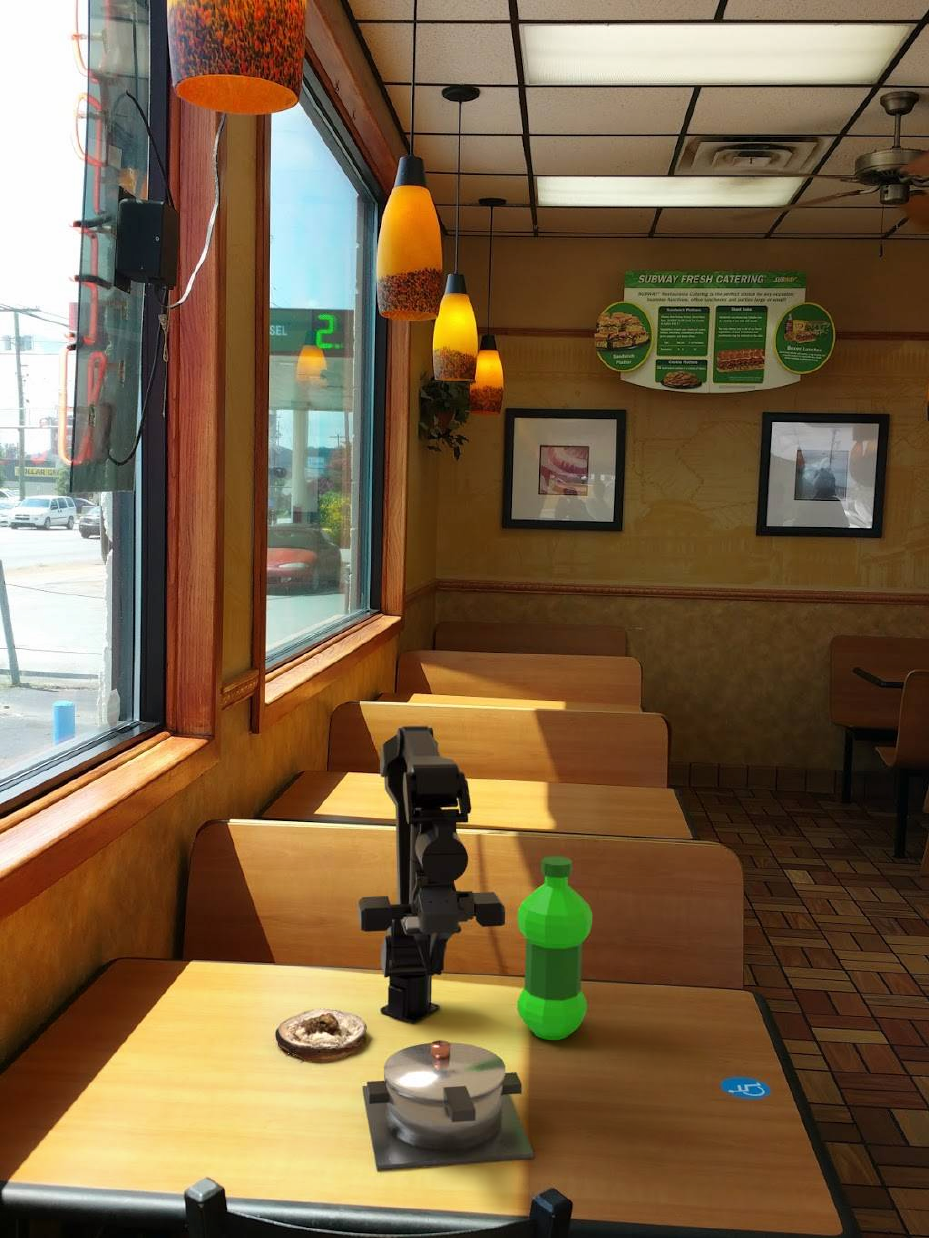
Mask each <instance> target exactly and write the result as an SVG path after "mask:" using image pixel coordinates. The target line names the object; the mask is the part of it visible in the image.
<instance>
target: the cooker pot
mask: <svg viewBox="0 0 929 1238" xmlns="http://www.w3.org/2000/svg"><path fill="white" fill-rule="evenodd" d="M522 1085H523V1084H522V1081H521V1079H520V1077H519V1075H518V1073H517V1071H516V1072H515V1071H513V1072H505V1081H504V1083H503V1085H502V1086H501V1087H500V1088H499V1089H498V1090H496V1091H495V1092H493V1093H491V1094H489V1095H487V1096H484V1097H481V1098H478V1099H474V1100H472V1102H473V1105H474V1107H475V1110H476V1118H475V1121H464V1122H452V1121H451V1118H450V1115H449V1112H448V1110H447V1107H446V1104H445V1103H438V1102H427V1101H421V1100H416V1099H413V1098H409V1097H406V1096H404V1095H401V1094H399V1093H397V1092H395V1091H394V1090H392V1089H391V1088H390V1087H389V1086H388V1085H387V1083H386V1082H385V1080H375V1081H373V1080H371V1081H366V1085H362V1094H363V1101H364V1105H365V1112H366V1118H367V1123H368V1129H369V1135H370V1140H371V1145H372V1153H373V1157H374V1162H375V1163H374V1164H375V1168H376V1169H375V1170H376V1171H388V1170H401V1169H414V1168H424V1167H423V1166H427V1167H436V1166H437V1167H439V1166H440V1167H441V1166H450V1165H464V1164H477V1163H488V1162H489V1163H490V1162H503V1161H514V1160H515V1161H516V1160H529V1159H530V1160H531V1159H534V1151H533V1148H532V1146H531V1144H530V1142H529V1139H528V1136H527V1135H526V1132H525V1129H524V1127H523V1125H522V1123H521V1120H520V1118H519V1116H518V1113H517V1110H516V1108H515V1107H514V1103H513V1102H512V1099H511V1096H510V1095H521V1094H522V1091H523V1090H522V1089H523V1088H522ZM427 1167H426V1168H427Z"/></svg>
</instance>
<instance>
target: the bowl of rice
mask: <svg viewBox="0 0 929 1238" xmlns="http://www.w3.org/2000/svg"><path fill="white" fill-rule="evenodd" d="M367 1028H368V1026H367V1024H366V1023H365V1021H364V1020H363V1018H361V1017H360V1016H358V1015H356V1014H352V1013H349V1012H347V1011H345V1010H343V1011H342V1010H341V1009H330V1008H316V1009H310V1010H306V1011H303V1012H301V1013H299V1014H296V1015H294V1016H291V1017H289V1018H288V1019H285V1020H284V1021H282V1022H281V1023H280V1024H279V1025H278V1027H277V1029H276V1030H275V1032H274V1037H275V1040H276V1042H278V1043H277V1044H278V1045H280V1046H279V1047H280V1048H281V1051H282V1052H283V1053H285V1054H286V1053H289V1054H291V1055H290V1056H293V1055H294V1056H293V1057H296V1056H297V1058H298V1057H300V1058H299V1059H300V1064H303V1063H304V1062H307V1063H311V1062H316V1061H317V1062H316V1063H318V1062H319V1063H320V1062H321V1063H323V1062H322V1061H324V1062H329V1061H330V1060H331V1061H335V1060H339V1059H342V1058H341V1057H343V1058H345V1057H344V1056H346V1057H348V1056H347V1055H349V1054H350V1053H352V1054H353V1055H355V1056H356V1055H357V1054H356V1051H358V1050H359V1049H360V1048H362V1046H361V1045H363V1043H364V1042H365V1041H364V1037H365V1036H364V1035H366V1032H367V1030H368V1029H367ZM363 1041H364V1042H363ZM278 1045H277V1046H278ZM289 1054H287V1055H285V1057H288V1055H289ZM350 1055H351V1054H350ZM350 1055H349V1056H350ZM301 1058H303V1059H301ZM338 1058H339V1059H338ZM334 1059H335V1060H334ZM304 1060H305V1061H304ZM310 1061H311V1062H310Z"/></svg>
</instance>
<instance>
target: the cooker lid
mask: <svg viewBox="0 0 929 1238" xmlns="http://www.w3.org/2000/svg"><path fill="white" fill-rule="evenodd" d="M505 1073H506V1064H505V1062H504V1060H503V1059H502V1058H501V1057H500V1056H498V1055H497V1054H496V1053H494V1052H492V1051H491V1050H488V1049H486V1048H483V1047H481V1046H477V1045H473V1044H468V1043H462V1042H450V1041H447V1040H443V1039H442V1040H441V1039H440V1040H439V1039H437V1040H434V1041H432V1042H427V1043H420V1044H414V1045H411V1046H408V1047H405V1048H402V1049H400V1050H397V1051H396V1052H394V1053H393V1054H392V1055H390V1056H389V1057H388V1058H387V1059H386V1061H385V1063H384V1065H383V1079H384V1081H385V1082H386V1083H387V1085H388V1086H389V1087H390V1088H391V1089H392V1090H394V1091H395V1092H397V1093H399V1094H401V1095H404V1096H406V1097H409V1098H413V1099H416V1100H421V1101H427V1102H438V1103H445V1104H446V1107H447V1110H448V1112H449V1115H450V1118H451V1121H452V1122H464V1121H475V1118H476V1110H475V1107H474V1105H473V1102H472V1100H474V1099H478V1098H481V1097H484V1096H487V1095H489V1094H491V1093H493V1092H495V1091H496V1090H498V1089H499V1088H500V1087H501V1086H502V1085H503V1083H504V1081H505Z"/></svg>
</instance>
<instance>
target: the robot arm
mask: <svg viewBox="0 0 929 1238" xmlns="http://www.w3.org/2000/svg"><path fill="white" fill-rule="evenodd" d="M379 775H380V778H383V779H384V789H385V792H386V793H387V795H388V797H389V798H390V800H391V801H392V803H393V804H394V806H395V840H396V841H395V842H396V889H397V890H396V891H397V893H396V894H397V904H395V903H394V904H392V903H391V902H390V897H389V896H388V895H383V896H382V895H380V896H379V895H377V896H362V897H361V899H359V901H358V902H357V919H358V923H359V926H360V931H363V932H368V933H369V932H370V933H371V932H386V931H387V935H384V937H383V941H382V943H381V944H382V945H381V949H380V963H381V964H380V967H381V970H382V974H383V978H389V982H388V987H387V1004H386V1005H384V1006H381V1007H380V1013H382V1014H384V1015H388V1016H390V1017H393V1018H397V1019H398V1020H399V1019H400V1020H403V1021H404V1022H408V1023H412V1024H416V1023H418V1022H420V1021H421V1020H423V1019H425V1018H427V1017H428V1016H430V1015H432V1014H434V1013H435V1012H438V1010H440V1005H439V1004H436V1003H433V1002H432V990H433V989H432V987H433V986H432V984H433V981H432V979H433V976H434V975H435V976H436V975H437V976H441V975H442V971H444V970H445V969H444V966H445V957H446V953H447V952H446V951H447V943H448V941H449V940H450V938H451V937H453V935H455V934H460V933H461V932H462V927H461V925H460V923H468V921H470V920H471V921H472V920H473V919H474V917H475V921H476V923H478V924H479V926H481V927H483V928H485V927H488V928H489V927H503V926H505V924H506V907H505V905H504V904H503V902H502V900H501V898H500V897H499V895H497V893H496V892H494V891H489V892H488V891H487V892H474V891H471V890H468V891H466V890H465V891H462V890H457V887H456V885H455V881H457V880H458V879H460V878H461V877H462V876H463V874H464V873H465V871H466V870H467V867H468V865H469V855H468V851H467V849H466V847H465V846H464V844H463V842H462V841H461V839H460V837H459V835H458V832H457V823H459V824H461V823H469V814H471V811H472V804H471V795H470V789H469V782H468V780H467V778H465V777H466V775H465V773H464V772H463V771H461V770H460V767H459V765H458V763H456V762H455V761H454V760H453V759H451V758H447V757H442V756H441V753H440V751H439V743H438V741H437V740H436V739H435V737H434V729H433V727H428V725H403V726H401V727H398V728H397V731H396V734H394V736H392V737H390V738H389V739H388V740H386V741H385V742H383V744H382V747H381V750H380V757H379ZM458 806H459V808H457V807H458Z"/></svg>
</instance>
